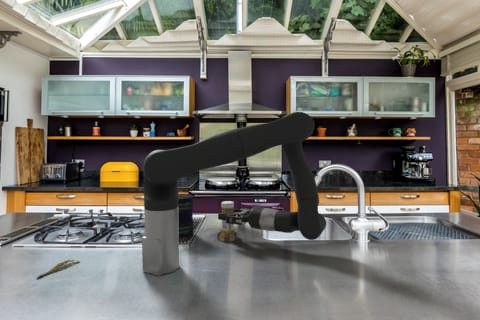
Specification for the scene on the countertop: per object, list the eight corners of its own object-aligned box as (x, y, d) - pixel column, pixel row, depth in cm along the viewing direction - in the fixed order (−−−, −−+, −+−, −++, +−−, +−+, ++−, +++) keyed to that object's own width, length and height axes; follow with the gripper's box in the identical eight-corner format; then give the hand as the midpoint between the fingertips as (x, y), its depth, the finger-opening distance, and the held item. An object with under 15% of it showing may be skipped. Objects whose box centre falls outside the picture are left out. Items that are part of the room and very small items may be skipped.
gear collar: (230, 242, 107) (230, 235, 107) (213, 239, 111) (213, 232, 110) (240, 236, 113) (240, 230, 113) (223, 234, 117) (223, 227, 117)
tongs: (32, 281, 79) (32, 274, 79) (69, 264, 91) (69, 257, 91) (45, 283, 78) (46, 275, 78) (81, 265, 91) (82, 258, 90)
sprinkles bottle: (236, 238, 111) (236, 202, 111) (225, 240, 109) (225, 203, 108) (229, 235, 115) (229, 200, 114) (219, 237, 113) (219, 201, 112)
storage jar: (191, 239, 111) (190, 198, 110) (164, 239, 111) (163, 198, 110) (195, 231, 121) (195, 193, 120) (170, 231, 121) (170, 193, 120)
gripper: (273, 204, 110) (234, 200, 118) (256, 212, 98) (214, 207, 105) (273, 224, 111) (234, 219, 118) (256, 235, 98) (214, 228, 106)
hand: (224, 213), depth 112 cm, fingers open, 8 cm apart
